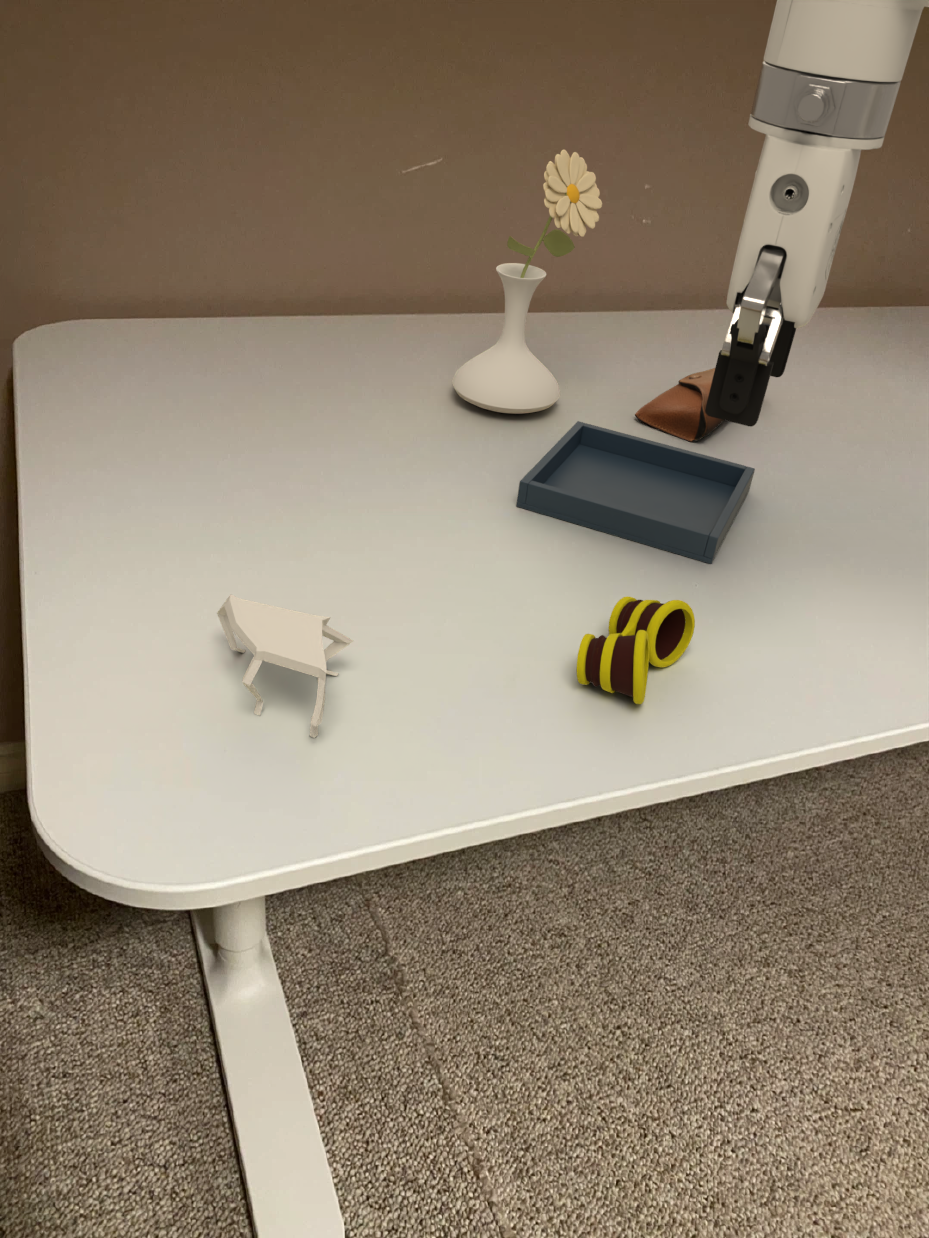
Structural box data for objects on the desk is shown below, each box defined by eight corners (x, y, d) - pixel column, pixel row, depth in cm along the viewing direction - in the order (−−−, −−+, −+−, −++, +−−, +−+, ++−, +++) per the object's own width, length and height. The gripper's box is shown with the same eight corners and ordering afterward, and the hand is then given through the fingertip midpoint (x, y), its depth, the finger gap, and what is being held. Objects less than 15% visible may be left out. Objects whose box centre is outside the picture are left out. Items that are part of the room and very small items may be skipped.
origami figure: (388, 686, 72) (393, 626, 69) (311, 754, 66) (313, 690, 63) (246, 622, 76) (245, 563, 74) (162, 679, 70) (158, 617, 67)
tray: (748, 492, 102) (755, 468, 101) (711, 564, 90) (718, 538, 89) (573, 444, 107) (577, 420, 106) (515, 506, 95) (519, 481, 94)
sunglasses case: (696, 372, 126) (736, 332, 121) (738, 416, 126) (778, 377, 121) (629, 416, 113) (670, 373, 108) (675, 466, 113) (718, 425, 108)
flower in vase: (478, 428, 108) (509, 163, 94) (433, 384, 116) (456, 134, 102) (590, 418, 113) (636, 165, 99) (540, 376, 121) (576, 137, 107)
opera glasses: (627, 637, 81) (628, 578, 79) (695, 652, 78) (697, 591, 76) (569, 701, 74) (567, 637, 72) (641, 719, 71) (641, 654, 69)
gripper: (874, 140, 53) (780, 458, 62) (901, 103, 66) (821, 368, 76) (724, 113, 55) (655, 425, 64) (780, 82, 68) (716, 344, 78)
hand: (745, 394), depth 70 cm, fingers open, 9 cm apart
